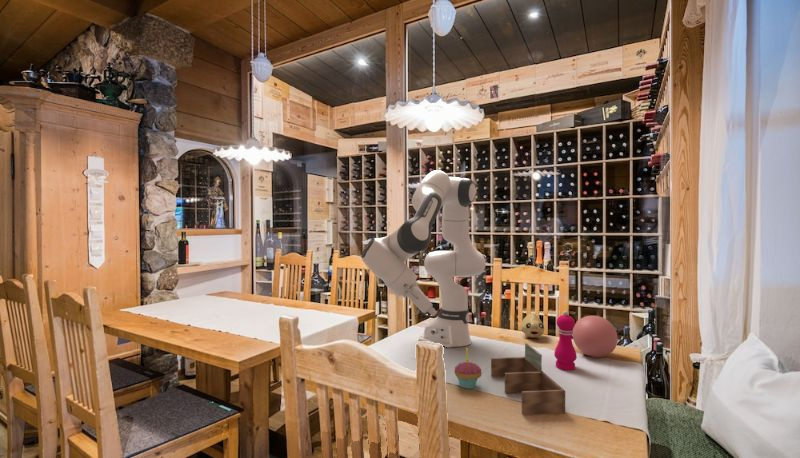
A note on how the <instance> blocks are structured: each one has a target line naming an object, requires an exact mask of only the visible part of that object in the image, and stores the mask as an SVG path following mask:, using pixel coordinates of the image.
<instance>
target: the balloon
mask: <svg viewBox="0 0 800 458" xmlns="http://www.w3.org/2000/svg"><path fill="white" fill-rule="evenodd" d="M618 339H619V336H618V333H617V330H616V329H615V327H614V325H613V323H611V322H610V321H609V320H608V319H606V318H604V317H602V316H598V315H586V316H583V317H582V318H579V320H577V321H576V322H575V326H574V328H573V334H572V341H573V342H574V344H575V347H577V349H578V350H579V351H580V352H582V353H583V354H584V355H586V356H588V357H592V358H602V357H606V356H608V355H611V354H612V353H613V352H614V351H615V349H616V348H617V346H618Z"/></svg>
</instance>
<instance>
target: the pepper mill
mask: <svg viewBox="0 0 800 458" xmlns="http://www.w3.org/2000/svg"><path fill="white" fill-rule="evenodd" d="M575 324H576V322H575V319H574V318H573V316H570V315H569V312H568V311H567V310H563V312H562V315H559V316H558V317H557V318H556V325H557V327H558V329H557V333H558V334H559V335H558V336H559V340H558V342H557V344H556V347H555V350H554V357H555V358H556V360H555V367H556V368H557V369H559V370H563V371H568V372H569V371H573V370H576V369H575V368H576V363H575V361H576V360H577V352H576V349H575V347H574V344H573V328H574V326H575Z"/></svg>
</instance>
